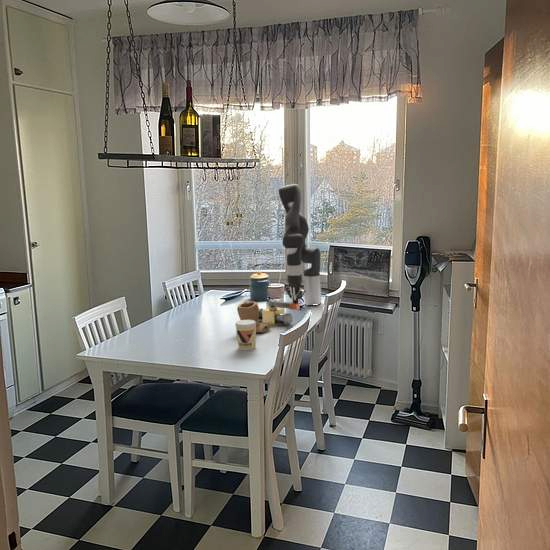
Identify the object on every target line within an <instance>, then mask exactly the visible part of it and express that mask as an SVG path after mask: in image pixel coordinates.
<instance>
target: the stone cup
mask: <svg viewBox="0 0 550 550" xmlns="http://www.w3.org/2000/svg"><path fill="white" fill-rule="evenodd" d="M259 308H260V307H259V304H258V303H257V301H253V300H250V301H249V302H247V301H244V302H242V303H240V304H238V305H237V314H238V318H239V319H240V320H254V321H255V322H256V333H266V332H268V331H269V330H270V329H271V327H272V325H270V324H263V323H261V322H259V320H258V317H259Z"/></svg>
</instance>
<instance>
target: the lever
mask: <svg viewBox="0 0 550 550" xmlns="http://www.w3.org/2000/svg"><path fill="white" fill-rule="evenodd" d="M267 301H268V302H267V305H268V308H269V307H278V308H284V309H288V310H293V311H294V310H295V311H298V310H300V309H301V308H300V306H301V305H300V302H298V303H296V302H293V301H291V302H290V301H280V300H276V299H269V300H267Z"/></svg>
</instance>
